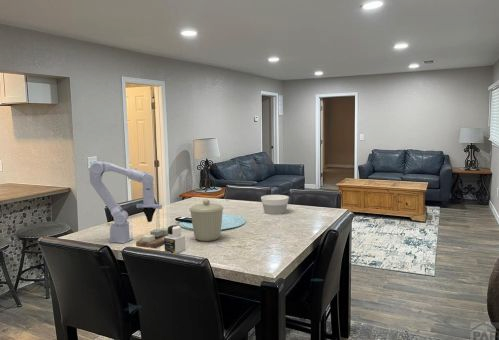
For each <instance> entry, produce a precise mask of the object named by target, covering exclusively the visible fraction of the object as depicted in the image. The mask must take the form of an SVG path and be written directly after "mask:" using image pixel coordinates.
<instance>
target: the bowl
mask: <svg viewBox="0 0 499 340" xmlns="http://www.w3.org/2000/svg"><path fill="white" fill-rule="evenodd" d="M260 200H261V204H262V207H263V211H264V213H265V214H266V215H271V216H277V215H284V214H286V211H287V207H288V203H289V201H290V196H288V195H284V194H266V195H262V196H261V197H260Z"/></svg>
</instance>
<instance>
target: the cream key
mask: <svg viewBox="0 0 499 340" xmlns="http://www.w3.org/2000/svg"><path fill="white" fill-rule="evenodd" d="M141 240H142V241H143V242H151V241H153V240H155V235H150V234H148V233H147V234H145V235H141Z"/></svg>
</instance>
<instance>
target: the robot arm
mask: <svg viewBox="0 0 499 340" xmlns="http://www.w3.org/2000/svg"><path fill="white" fill-rule="evenodd" d="M106 172H107V173H108V172H114V173H117V174H119V175H125V176H126V177H127V178H128V179H129V180H132V181H134V182H137V183H142V201H143V203H137V204H135V205H136V206H135V208H137V209H140V208H141V209H142V212H143V213H144V215H145V217H146V221H147V223H151V222H152V221H153V218H154V215H155V211H156V209H157V210H162V209H163V205H162V204H158V203H155V187H154V176H153V174H151V173H150V172H146V171H145V170H144V171H141V170H138V168H136V167H134V168H130V169H127V168H125V167H122V166H119V165H118V164H117V165H116V164H114V163H112V162H109V161H108V162H107V161H104V160H97V161H94V162H92V163H91V164H90V167H89V169H88V173H89V183H90V185H91V186H92V187H93V189H94V190H95V192H97V195H98V196H99V197H100V198H101V200H102V201H103V202H104V204H105V206H106V207H107V208H108V210H109V212H110V214H111V216H112V218H113V223H112V224H111V225H110V227H109V238H110V239H109V241H108V242H110V243H119V244H125V243H128V242H131V241H132V240H134V238H133V237H130V224H129V221H128V218H129V213H128V212H127V211H126V210H124V209H123V207H122V206H121V205H119V204H118V202H117V201H116V199H115V198H114V196H113V195H112V194H111V192H110V191H109V190H108V188H107V187H106V185H105V184H104V183H103V181H102V179H103V174H104V173H106Z"/></svg>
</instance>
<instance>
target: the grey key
mask: <svg viewBox="0 0 499 340" xmlns="http://www.w3.org/2000/svg"><path fill="white" fill-rule="evenodd" d="M149 233H150V234H149V235H155V237H158V236H161V235H163V230H159V229H156V228H155V229H153V230H150V232H149Z"/></svg>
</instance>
